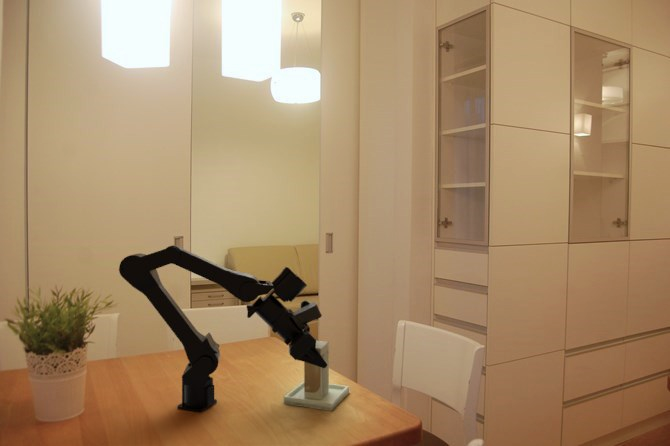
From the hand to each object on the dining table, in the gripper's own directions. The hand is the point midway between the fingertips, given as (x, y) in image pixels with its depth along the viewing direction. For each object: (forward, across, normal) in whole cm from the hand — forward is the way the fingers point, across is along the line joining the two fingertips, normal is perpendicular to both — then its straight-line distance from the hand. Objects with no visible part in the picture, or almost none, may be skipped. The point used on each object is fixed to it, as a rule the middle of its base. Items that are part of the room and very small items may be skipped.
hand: (323, 360), depth 112 cm
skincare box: (+5, 0, +7) cm, 8 cm away
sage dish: (+5, 0, +7) cm, 9 cm away
